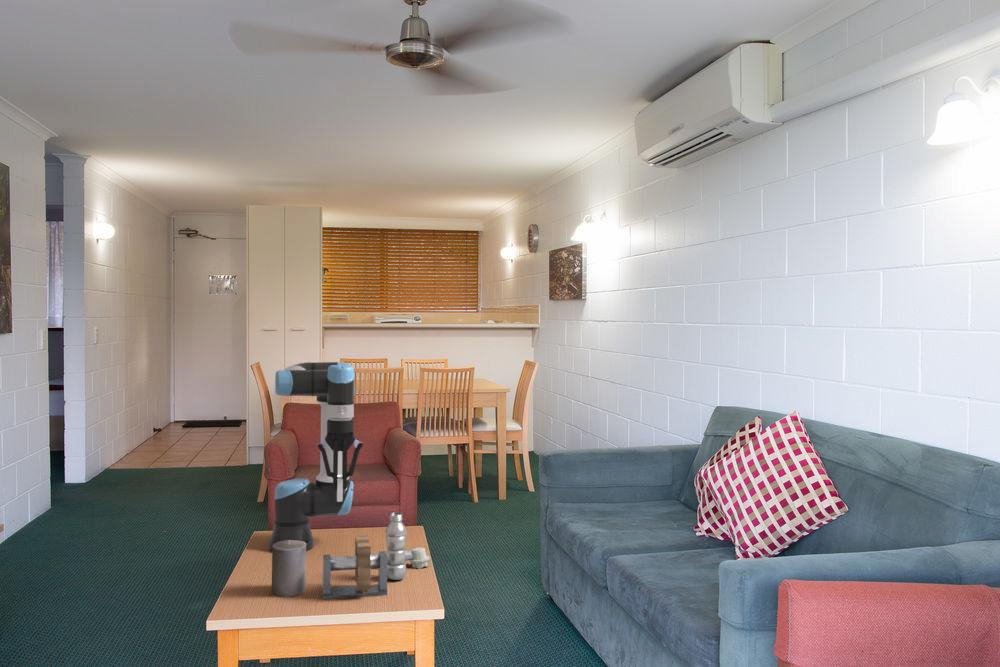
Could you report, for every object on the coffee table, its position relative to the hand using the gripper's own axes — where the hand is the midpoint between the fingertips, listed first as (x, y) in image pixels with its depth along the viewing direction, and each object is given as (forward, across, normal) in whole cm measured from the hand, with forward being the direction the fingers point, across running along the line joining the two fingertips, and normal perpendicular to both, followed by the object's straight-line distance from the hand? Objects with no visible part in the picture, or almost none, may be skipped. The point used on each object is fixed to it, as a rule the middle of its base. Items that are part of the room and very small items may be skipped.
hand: (339, 500), depth 225 cm
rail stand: (+27, +4, -1) cm, 27 cm away
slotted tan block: (+24, +7, -1) cm, 25 cm away
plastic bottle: (+27, +18, +9) cm, 34 cm away
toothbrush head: (+28, +17, +22) cm, 39 cm away
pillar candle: (+27, -14, +5) cm, 31 cm away
